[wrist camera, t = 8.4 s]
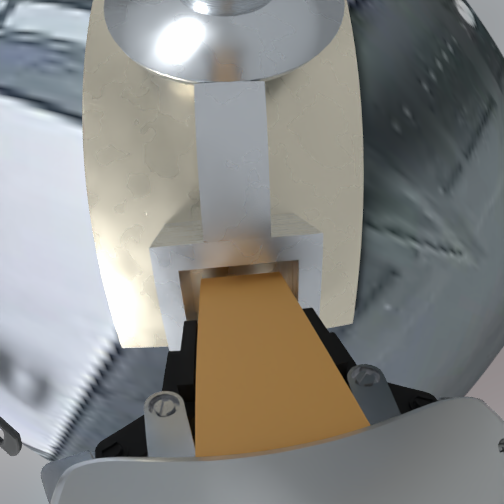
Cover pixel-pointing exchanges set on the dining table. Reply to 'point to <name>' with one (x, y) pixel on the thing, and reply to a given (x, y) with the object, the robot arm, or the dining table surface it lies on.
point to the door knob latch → (221, 155)
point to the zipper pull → (10, 439)
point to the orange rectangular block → (263, 371)
